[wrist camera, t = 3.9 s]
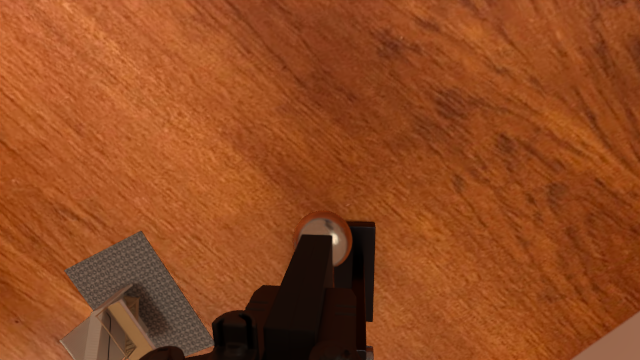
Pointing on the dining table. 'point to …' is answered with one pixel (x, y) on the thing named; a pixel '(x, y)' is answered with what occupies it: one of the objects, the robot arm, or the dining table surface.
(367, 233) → the bracket
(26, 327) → the dining table surface
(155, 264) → the architectural model
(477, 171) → the dining table surface
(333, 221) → the lever
